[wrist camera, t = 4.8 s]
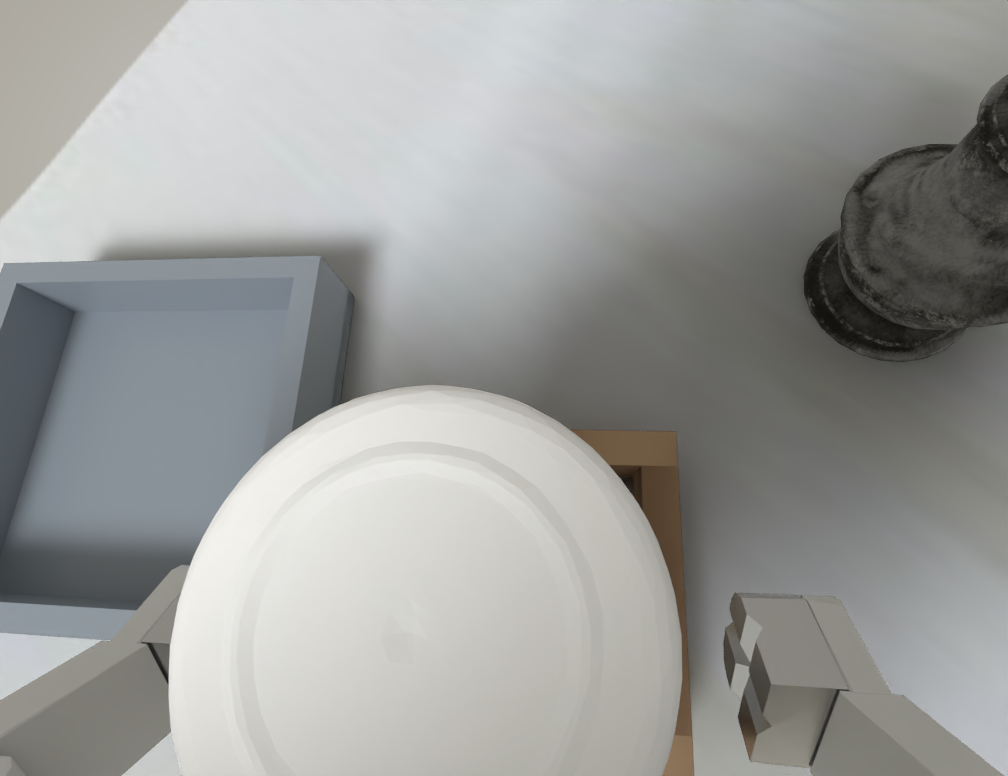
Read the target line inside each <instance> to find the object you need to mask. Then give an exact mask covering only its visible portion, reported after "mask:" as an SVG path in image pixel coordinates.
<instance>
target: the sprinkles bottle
mask: <svg viewBox="0 0 1008 776" xmlns="http://www.w3.org/2000/svg"><path fill="white" fill-rule="evenodd" d="M681 686H682V635H681V629H680V623H679V616H678V610H677V604H676V598H675V593H674V589H673V586H672V582H671V578H670V575H669V571H668V568H667V565H666V563H665V560H664V557H663V554H662V551H661V549H660V546H659V543H658V540H657V538H656V536H655V534H654V532H653V530H652V528H651V526H650V524H649V521H648V520H647V518H646V516H645V514H644V513H643V511H642V509H641V508H640V506H639V504H638V503H637V501H636V500H635V498H634V497H633V495H632V494H631V493H630V491H629V490H628V488H627V487H626V486H625V484H624V483H623V482H622V480H621V479H620V478H619V476H618V475H617V474H616V473H615V472H614V470H613V469H612V468H611V467H610V466H609V465H608V464H607V463H606V461H605V460H604V459H603V458H602V457H601V456H600V455H599V454H598V453H597V452H596V451H595V450H594V449H593V448H592V447H591V446H590V445H588V444H587V443H586V442H585V441H583V440H582V439H581V438H580V437H578V436H577V435H576V434H575V433H573V432H572V431H570V430H569V429H568V428H566V427H565V426H564V425H562V424H561V423H559V422H558V421H556V420H555V419H553V418H551V417H549V416H547V415H545V414H544V413H542V412H540V411H538V410H536V409H534V408H533V407H531V406H529V405H526V404H524V403H522V402H519V401H517V400H514V399H511V398H509V397H506V396H502V395H499V394H494V393H490V392H486V391H481V390H477V389H471V388H464V387H456V386H447V385H421V386H411V387H401V388H395V389H390V390H386V391H381V392H376V393H372V394H369V395H365V396H362V397H358V398H355V399H352V400H350V401H348V402H346V403H343V404H341V405H338V406H335V407H333V408H331V409H329V410H328V411H326V412H324V413H322V414H320V415H317V416H316V417H314V418H313V419H311V420H310V421H308V422H307V423H305V424H304V425H302V426H301V427H299V428H297V429H296V430H294V431H293V432H291V433H290V434H288V435H287V436H286V437H285V438H283V439H282V440H281V441H280V442H279V443H278V444H276V445H275V446H274V447H273V448H272V449H270V450H269V451H268V452H267V453H266V454H264V455H263V456H262V457H261V458H260V459H259V460H258V461H257V462H256V463H255V464H254V466H253V467H252V468H251V469H250V470H249V471H248V472H247V473H246V474H245V475H244V476H243V477H242V479H241V480H240V481H239V483H238V484H237V485H236V486H235V488H234V489H233V490H232V492H231V493H230V494H229V496H228V497H227V498H226V500H225V501H224V503H223V504H222V506H221V507H220V509H219V510H218V512H217V513H216V515H215V516H214V518H213V520H212V522H211V523H210V525H209V527H208V529H207V530H206V532H205V534H204V536H203V538H202V540H201V542H200V544H199V546H198V548H197V550H196V552H195V554H194V556H193V559H192V562H191V564H190V567H189V570H188V572H187V576H186V579H185V582H184V585H183V588H182V592H181V595H180V598H179V601H178V605H177V610H176V616H175V621H174V627H173V632H172V638H171V643H170V656H169V712H170V727H171V734H172V739H173V744H174V750H175V754H176V758H177V762H178V765H179V769H180V773H181V776H662V774H663V772H664V769H665V767H666V764H667V761H668V757H669V754H670V750H671V746H672V742H673V738H674V734H675V729H676V722H677V716H678V710H679V703H680V695H681Z"/></svg>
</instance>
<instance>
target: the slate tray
mask: <svg viewBox="0 0 1008 776" xmlns="http://www.w3.org/2000/svg"><path fill="white" fill-rule="evenodd" d="M353 303H354V296H353V295H352V293H351V292H350V291H349V290H348V289H347V287H346V286H345V285H344V284H343V282H342V281H341V280H340V279H339V277H338V276H337V275H336V274H335V273H334V271H333V270H332V269H331V268H330V266H329V265H328V264H327V263H326V262H325V260H324V259H323V258H322V257H321V255H318V256H278V257H238V258H198V259H158V260H118V261H78V262H39V263H4V265H3V268H2V270H1V273H0V633H13V634H27V635H41V636H56V637H70V638H84V639H98V640H111V639H112V638H113V637H114V636H115V635H116V634H117V633H118V631H119V630H120V629H121V628H122V627H123V626H124V624H125V623H126V622H127V621H128V620H129V619H130V618H131V616H132V615H133V614H134V613H135V612H136V611H137V609H138V608H139V607H140V606H141V605H142V604H143V602H144V601H145V600H146V599H147V598H148V597H149V596H150V594H151V593H152V592H153V591H154V590H155V589H156V587H157V586H158V585H159V584H160V583H161V582H162V581H163V579H164V578H165V577H166V576H167V575H168V574H169V572H170V571H171V570H173V569H175V568H177V567H178V566H180V565H190V564H191V562H192V559H193V556H194V554H195V552H196V550H197V548H198V546H199V544H200V542H201V540H202V538H203V536H204V534H205V532H206V530H207V529H208V527H209V525H210V523H211V522H212V520H213V518H214V516H215V515H216V513H217V512H218V510H219V509H220V507H221V506H222V504H223V503H224V501H225V500H226V498H227V497H228V496H229V494H230V493H231V492H232V490H233V489H234V488H235V486H236V485H237V484H238V483H239V481H240V480H241V479H242V477H243V476H244V475H245V474H246V473H247V472H248V471H249V470H250V469H251V468H252V467H253V466H254V464H255V463H256V462H257V461H258V460H259V459H260V458H261V457H262V456H263V455H264V454H266V453H267V452H268V451H269V450H270V449H272V448H273V447H274V446H275V445H276V444H278V443H279V442H280V441H281V440H282V439H283V438H285V437H286V436H287V435H288V434H290V433H291V432H293V431H294V430H296V429H297V428H299V427H301V426H302V425H304V424H305V423H307V422H308V421H310V420H311V419H313V418H314V417H316V416H317V415H320V414H322V413H324V412H326V411H328V410H329V409H331V408H333V407H335V406H338V405H339V404H340V397H341V389H342V382H343V375H344V368H345V361H346V353H347V346H348V339H349V332H350V325H351V317H352V310H353Z"/></svg>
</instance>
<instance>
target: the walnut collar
mask: <svg viewBox="0 0 1008 776" xmlns="http://www.w3.org/2000/svg"><path fill="white" fill-rule="evenodd" d="M570 431H572V432H573V433H575V434H576V435H577V436H578V437H580V438H581V439H582V440H583V441H585V442H586V443H587V444H588V445H590V446H591V447H592V448H593V449H594V450H595V451H596V452H597V453H598V454H599V455H600V456H601V457H602V458H603V459H604V460H605V461H606V463H607V464H608V465H609V466H610V467H611V468H612V469H613V470H614V472H615V473H616V474H617V475H618V476H619V478H632V495H633V497H634V498H635V500H636V501H637V503H638V504H639V506H640V508H641V509H642V511H643V513H644V514H645V516H646V518H647V520H648V521H649V524H650V526H651V528H652V530H653V532H654V534H655V536H656V538H657V540H658V543H659V546H660V549H661V551H662V554H663V557H664V560H665V563H666V565H667V568H668V571H669V575H670V578H671V582H672V586H673V589H674V593H675V598H676V604H677V610H678V616H679V623H680V629H681V635H682V686H681V695H680V703H679V710H678V716H677V722H676V729H675V734H674V738H673V742H672V746H671V750H670V754H669V757H668V761H667V764H666V767H665V769H664V772H663V774H662V776H694V760H693V741H692V722H691V703H690V684H689V665H688V646H687V627H686V608H685V589H684V570H683V551H682V532H681V513H680V494H679V475H678V456H677V437H676V431H618V430H570Z"/></svg>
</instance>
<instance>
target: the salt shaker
mask: <svg viewBox="0 0 1008 776" xmlns="http://www.w3.org/2000/svg"><path fill="white" fill-rule="evenodd" d="M804 292H805V297H806V299H807V302H808V305H809V308H810V311H811V313H812V314H813V316H814V317H815V318H816V320H817V321H818V323H819V324H820V326H821V327H822V328H823V329H824V330H825V331H826V332H827V333H828V334H829V335H831V336H832V337H833V338H834V339H835V340H836V341H837V342H838V343H840V344H842V345H844V346H846V347H848V348H849V349H851V350H853V351H855V352H857V353H859V354H862V355H865V356H869V357H872V358H876V359H879V360H888V361H902V362H904V361H910V360H916V359H922V358H927V357H929V356H931V355H933V354H936V353H938V352H940V351H942V350H944V349H946V348H948V347H949V346H950V345H951V344H952V343H953V342H955V341H956V340H957V339H958V338H959V337H960V336H962V334H963V332H964V331H965V329H966V327H984V326H990V325H996V324H1002V323H1008V75H1006V76H1005V77H1004V78H1002V79H1001V80H1000V81H999V82H997V83H996V84H995V85H993V86H992V87H991V89H990V90H989V91H988V93H987V94H986V96H985V97H984V99H983V100H982V102H981V103H980V108H979V112H978V116H977V125H976V126H975V127H974V128H973V129H972V130H971V131H970V132H969V133H968V134H967V135H966V137H965V138H964V139H963V140H962V141H961V142H960V143H959V144H958V145H953V144H928V145H923V146H918V147H912V148H907V149H902V150H900V151H898V152H895V153H893V154H891V155H888V156H886V157H884V158H882V159H879V160H878V161H877V162H876V163H874V164H873V165H872V166H871V167H869V168H868V169H867V170H866V171H864V172H863V173H862V174H861V175H860V176H859V177H858V179H857V180H856V182H855V183H854V185H853V186H852V188H851V189H850V191H849V192H848V194H847V195H846V199H845V202H844V206H843V210H842V213H841V229H840V230H838V231H836V232H834V233H832V234H831V235H830V236H829V237H827V238H826V239H825V240H824V241H822V242H821V243H820V244H819V245H818V247H817V248H816V250H815V251H814V253H813V254H812V256H811V257H810V258H809V260H808V264H807V267H806V271H805V274H804Z"/></svg>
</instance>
